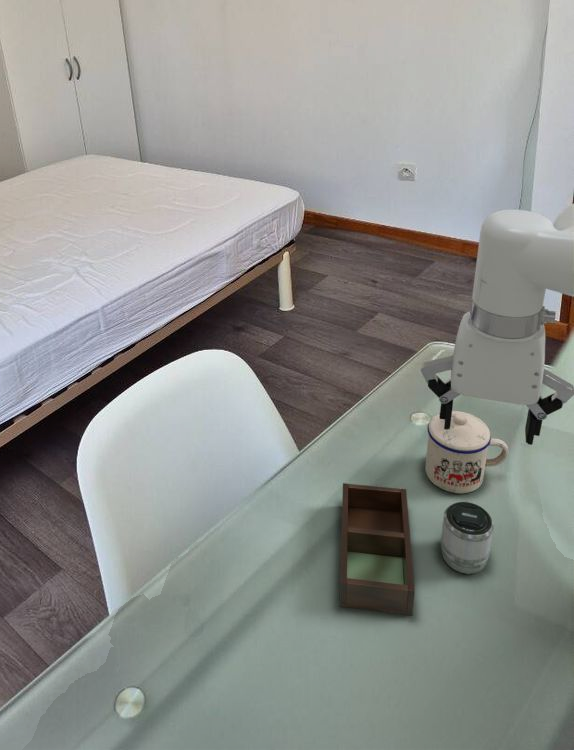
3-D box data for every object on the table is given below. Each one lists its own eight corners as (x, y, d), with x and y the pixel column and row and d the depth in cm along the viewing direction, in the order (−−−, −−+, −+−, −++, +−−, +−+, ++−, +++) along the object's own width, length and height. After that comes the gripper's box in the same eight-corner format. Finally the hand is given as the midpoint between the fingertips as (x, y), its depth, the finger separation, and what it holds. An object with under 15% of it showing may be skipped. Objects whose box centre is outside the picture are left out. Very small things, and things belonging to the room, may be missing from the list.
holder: (404, 511, 103) (406, 488, 101) (412, 615, 87) (414, 591, 85) (342, 505, 105) (342, 482, 103) (339, 606, 89) (340, 582, 87)
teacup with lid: (427, 493, 105) (433, 434, 100) (420, 452, 113) (425, 395, 108) (510, 499, 103) (521, 438, 98) (497, 457, 111) (506, 399, 106)
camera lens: (489, 580, 91) (496, 538, 88) (439, 570, 93) (444, 528, 90) (487, 543, 96) (493, 501, 93) (439, 534, 98) (444, 493, 95)
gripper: (584, 308, 80) (560, 424, 88) (429, 290, 86) (419, 400, 94) (592, 342, 74) (565, 464, 82) (424, 321, 80) (413, 436, 88)
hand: (487, 430), depth 88 cm, fingers open, 9 cm apart
